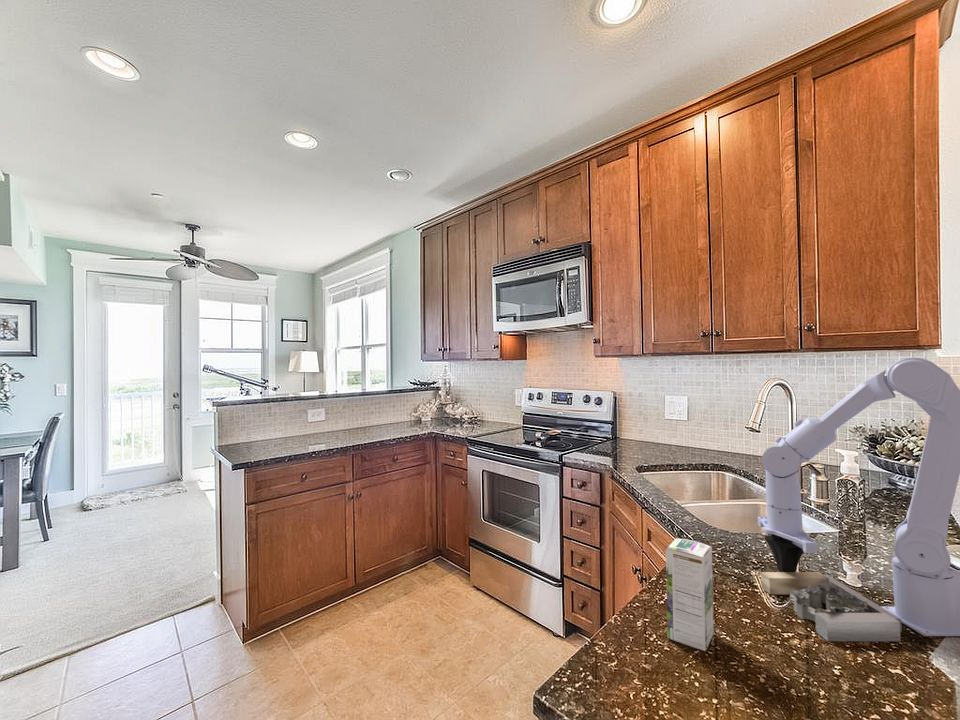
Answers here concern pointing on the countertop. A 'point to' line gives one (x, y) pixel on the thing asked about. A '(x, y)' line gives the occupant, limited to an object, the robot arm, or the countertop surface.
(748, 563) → the countertop surface
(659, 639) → the countertop surface
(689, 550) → the syrup box
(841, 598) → the egg carton
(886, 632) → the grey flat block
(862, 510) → the countertop surface
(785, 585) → the block
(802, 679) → the countertop surface
